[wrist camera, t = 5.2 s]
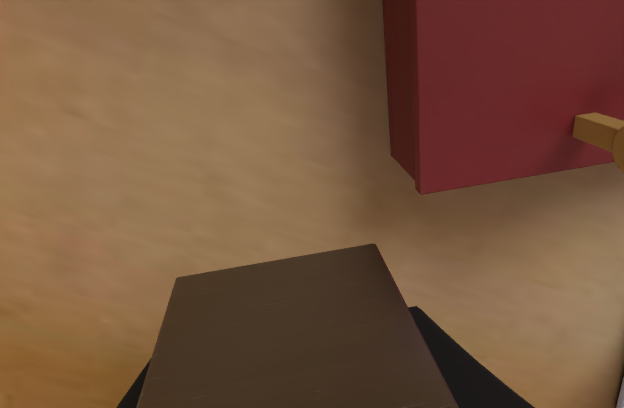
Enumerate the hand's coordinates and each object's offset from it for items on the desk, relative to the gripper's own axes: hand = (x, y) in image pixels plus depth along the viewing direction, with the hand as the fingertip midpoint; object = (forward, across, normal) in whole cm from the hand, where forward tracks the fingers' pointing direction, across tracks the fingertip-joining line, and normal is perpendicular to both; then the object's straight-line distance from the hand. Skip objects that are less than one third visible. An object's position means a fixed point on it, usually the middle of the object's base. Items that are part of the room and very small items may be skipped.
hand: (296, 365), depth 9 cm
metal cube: (+1, 0, 0) cm, 1 cm away
